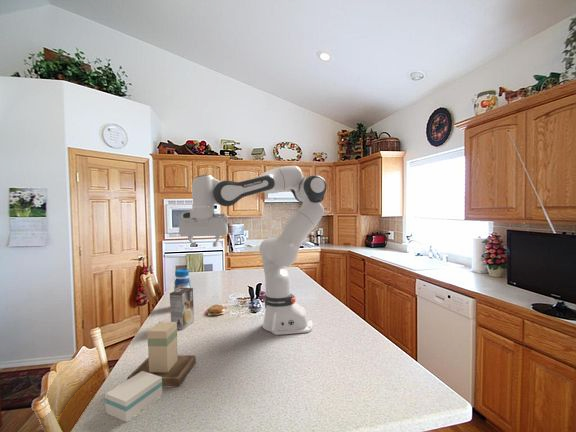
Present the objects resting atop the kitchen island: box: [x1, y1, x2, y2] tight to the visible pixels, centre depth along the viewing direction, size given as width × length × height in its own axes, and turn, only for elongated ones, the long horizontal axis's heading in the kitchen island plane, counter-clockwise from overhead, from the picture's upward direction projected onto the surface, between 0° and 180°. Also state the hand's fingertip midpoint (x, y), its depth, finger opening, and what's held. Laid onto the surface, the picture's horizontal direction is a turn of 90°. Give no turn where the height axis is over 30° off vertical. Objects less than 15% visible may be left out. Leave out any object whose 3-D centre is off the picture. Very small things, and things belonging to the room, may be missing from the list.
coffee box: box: [169, 287, 195, 330], centre depth 128 cm, size 9×6×16 cm
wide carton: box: [104, 371, 163, 422], centre depth 77 cm, size 11×8×6 cm
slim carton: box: [147, 321, 179, 372], centre depth 91 cm, size 6×7×13 cm
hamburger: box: [203, 303, 228, 317], centre depth 144 cm, size 14×14×6 cm
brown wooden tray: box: [126, 354, 197, 387], centre depth 91 cm, size 16×13×2 cm
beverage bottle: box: [173, 268, 192, 291], centre depth 152 cm, size 8×8×20 cm
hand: (204, 246), depth 118 cm, fingers open, 8 cm apart
